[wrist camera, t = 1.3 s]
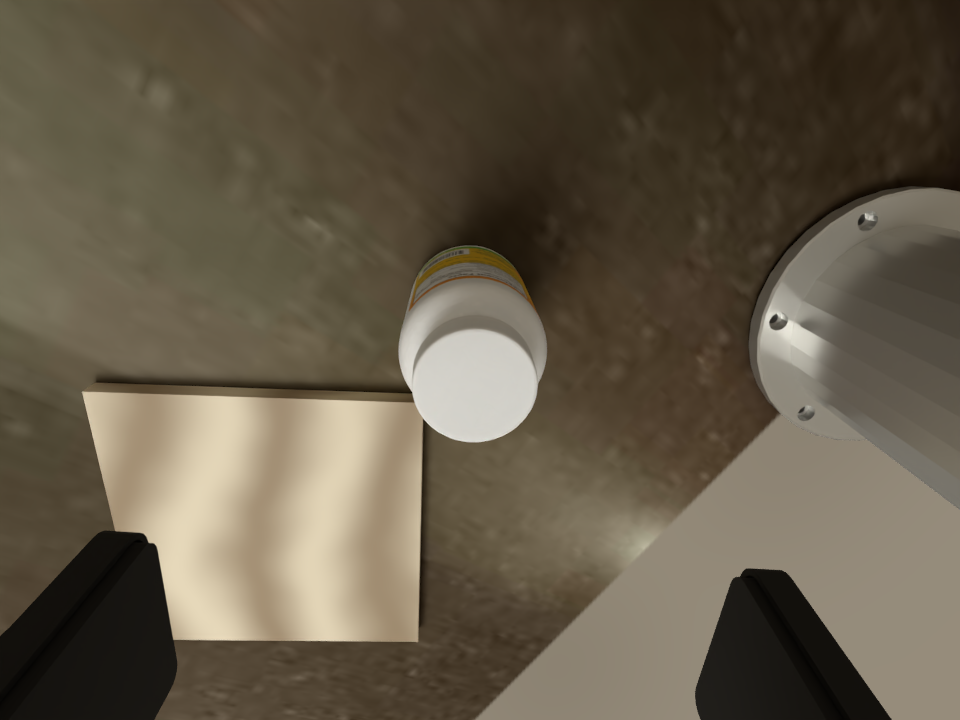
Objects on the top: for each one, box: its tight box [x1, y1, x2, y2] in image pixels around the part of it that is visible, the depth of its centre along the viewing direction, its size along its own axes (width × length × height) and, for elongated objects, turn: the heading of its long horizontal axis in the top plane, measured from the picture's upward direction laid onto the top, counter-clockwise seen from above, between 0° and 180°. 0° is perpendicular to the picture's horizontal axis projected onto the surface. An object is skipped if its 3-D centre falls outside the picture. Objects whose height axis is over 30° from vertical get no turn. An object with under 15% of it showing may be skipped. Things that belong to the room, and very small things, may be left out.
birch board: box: [82, 383, 424, 642], centre depth 30 cm, size 16×16×1 cm
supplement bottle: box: [399, 245, 547, 442], centre depth 22 cm, size 5×5×10 cm
